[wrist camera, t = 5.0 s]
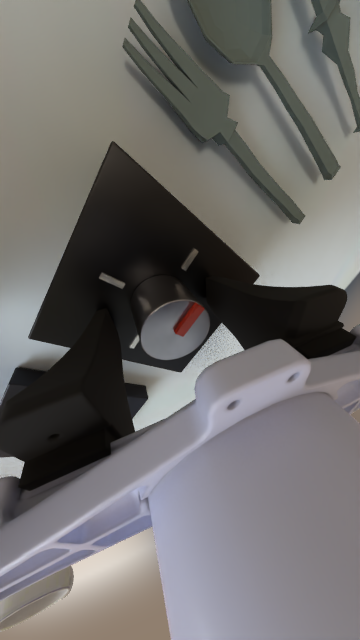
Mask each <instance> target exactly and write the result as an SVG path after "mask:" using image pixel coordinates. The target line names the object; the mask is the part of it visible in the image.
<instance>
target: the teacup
mask: <svg viewBox="0 0 360 640" xmlns="http://www.w3.org/2000/svg"><path fill="white" fill-rule="evenodd" d="M73 578H74V575H73V569H72V567H71V565H70V566H68V567H66V568H64V569H62V570H60V571H58V572H56V573H54V574H52V575H50V576H48V577H46V578H44V579H42V580H40V581H38V582H36V583H34V584H32V585H30V586H28V587H26V588H24V589H22V590H21V591H19V592H17V593H15V594H13V595H11V596H9V597H7V598H5V599H4V600H2V601H0V631H3V630H6V629H9V628H11V627H13V626H15V625H17V624H19V623H22V622H24V621H26V620H28V619H29V618H31V617H33V616H35V615H37V614H39V613H40V612H42V611H43V610H45V609H47V608H48V607H50V606H51V605H53V604H54V603H56V602H57V601H58V600H60V599H63V598H65V597H66V596H67V595H68V594H69V592H70V591H71V588H72V585H73Z"/></svg>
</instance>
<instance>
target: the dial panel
mask: <svg viewBox="0 0 360 640" xmlns="http://www.w3.org/2000/svg"><path fill="white" fill-rule="evenodd" d="M158 275H168V276H172V277H175V278H177V279H178V280H180V281H181V282H182V283H183V284H184V285H185V286H186V287H187V289H188V290H189V291H190V292H191V293H192V294H193V295H194V296H195V297H196V299H197V300H198V301H199V302H200V303H201V304H202V305H203V306H204V307H205V309H206V310H207V312H208V314H209V317H210V327H209V331H208V334H207V336H206V338H205V339H204V341H203V342H202V343H201V344H200V345H199V346H198V347H197V348H196V349H195V350H194V351H192V352H191V353H189V354H187V355H185V356H183V357H180V358H177V359H172V360H161V359H156V358H154V357H152V356H150V355H148V354H147V353H146V352H145V351H144V350H143V348H142V346H141V343H140V340H139V336H138V333H137V329H136V326H135V322H134V318H133V315H132V311H131V298H132V295H133V293H134V291H135V290H136V288H137V287H138V286H139V285H140V284H141V283H142V282H144V281H145V280H147V279H149V278H151V277H154V276H158ZM211 276H218V277H223V278H227V279H231V280H235V281H240V282H244V283H249V284H254V282H255V281H256V280H257V279H258V277H259V276H260V275H259V274H258V273H257V272H256V271H255V270H254V269H253V268H251V267H250V266H249V265H248V264H247V263H246V262H245V261H244V260H243V259H242V258H241V257H239V256H238V255H237V254H236V253H235V252H234V251H233V250H232V249H231V248H230V247H229V246H227V245H226V244H225V243H224V242H223V241H222V240H221V239H220V238H219V237H218V236H217V235H215V234H214V233H213V232H212V231H211V230H210V229H209V228H208V227H207V226H206V225H204V224H203V223H202V222H201V221H200V220H199V219H198V218H197V217H196V216H195V215H194V214H192V213H191V212H190V211H189V210H188V209H187V208H186V207H185V206H184V205H183V204H182V203H180V202H179V201H178V200H177V199H176V198H175V197H174V196H173V195H172V194H171V193H170V192H168V191H167V190H166V189H165V188H164V187H163V186H162V185H161V184H160V183H159V182H158V181H156V180H155V179H154V178H153V177H152V176H151V175H150V174H149V173H148V172H147V171H146V170H144V169H143V168H142V167H141V166H140V165H139V164H138V163H137V162H136V161H135V160H134V159H132V158H131V157H130V156H129V155H128V154H127V153H126V152H125V151H124V150H123V149H122V148H120V147H119V146H118V145H117V144H116V143H115V142H113V141H112V142H111V144H110V146H109V148H108V151H107V153H106V155H105V158H104V160H103V162H102V165H101V167H100V169H99V172H98V174H97V177H96V179H95V181H94V184H93V186H92V188H91V191H90V193H89V195H88V198H87V200H86V202H85V205H84V207H83V209H82V212H81V214H80V216H79V219H78V221H77V223H76V226H75V228H74V230H73V233H72V235H71V238H70V240H69V242H68V245H67V247H66V249H65V252H64V254H63V256H62V259H61V261H60V263H59V266H58V268H57V270H56V273H55V275H54V277H53V280H52V282H51V284H50V287H49V289H48V292H47V294H46V296H45V299H44V301H43V303H42V306H41V308H40V310H39V313H38V315H37V317H36V320H35V322H34V324H33V327H32V329H31V331H30V334H29V336H28V338H29V339H33V340H37V341H42V342H46V343H51V344H55V345H60V346H64V347H69V348H72V346H73V345H74V344H75V343H76V342H77V340H78V339H79V337H80V336H81V335H82V333H83V332H84V330H85V329H86V327H87V326H88V324H89V323H90V321H91V319H92V318H93V316H94V314H95V313H96V311H98V310H101V309H104V308H107V310H108V312H109V314H110V316H111V318H112V321H113V323H114V325H115V327H116V329H117V331H118V335H119V339H120V344H121V353H122V359H123V360H127V361H132V362H136V363H141V364H145V365H150V366H154V367H159V368H163V369H167V370H172V371H176V372H182V371H183V369H184V368H185V367H186V366H187V364H188V363H189V362H190V361H191V360H192V358H193V357H194V356H195V355H196V353H197V352H198V351H199V350H200V349H201V347H202V346H203V345H204V344H205V342H206V341H207V340H208V339H209V337H210V336H211V335H212V334H213V333H214V331H215V330H216V329H217V328H218V326H219V325H220V324H221V323H222V322H221V321H220V320H219V319H218V318H217V317H216V315H215V314H214V313H213V312H212V310H211V309H210V307H209V306H208V304H207V298H206V281H205V278H208V277H211Z"/></svg>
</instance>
